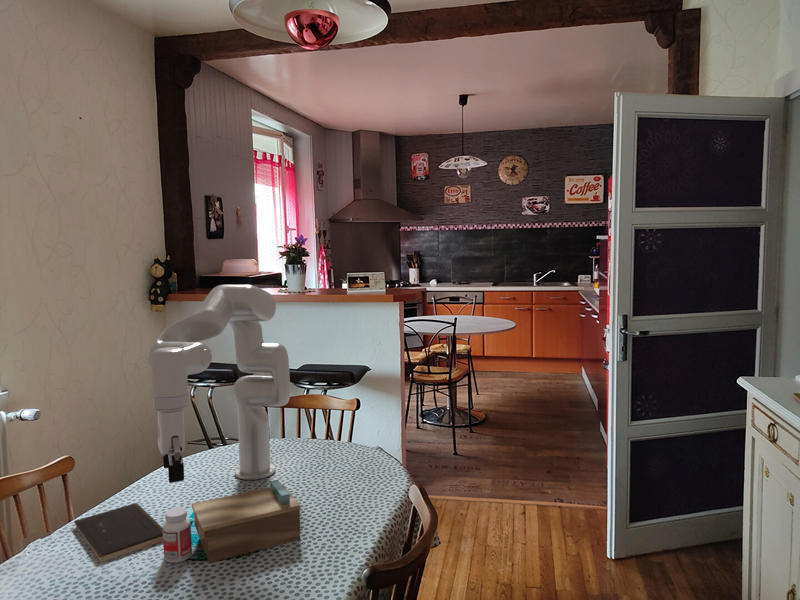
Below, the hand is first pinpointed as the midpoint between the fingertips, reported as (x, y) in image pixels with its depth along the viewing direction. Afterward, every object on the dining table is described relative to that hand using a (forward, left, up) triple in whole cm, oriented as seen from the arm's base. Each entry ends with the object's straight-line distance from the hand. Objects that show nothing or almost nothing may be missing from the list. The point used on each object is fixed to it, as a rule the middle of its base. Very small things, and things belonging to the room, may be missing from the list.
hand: (173, 474), depth 133 cm
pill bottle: (0, 0, -21) cm, 21 cm away
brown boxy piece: (0, +17, -20) cm, 26 cm away
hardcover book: (-19, -11, -21) cm, 31 cm away
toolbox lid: (0, +16, -15) cm, 22 cm away
